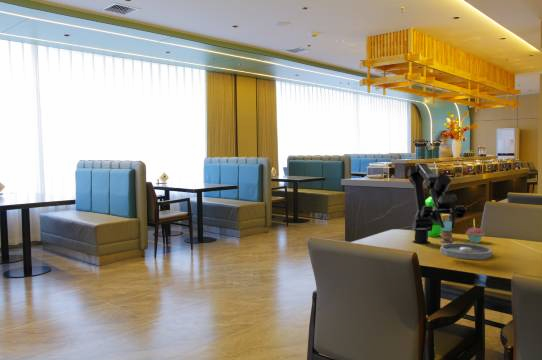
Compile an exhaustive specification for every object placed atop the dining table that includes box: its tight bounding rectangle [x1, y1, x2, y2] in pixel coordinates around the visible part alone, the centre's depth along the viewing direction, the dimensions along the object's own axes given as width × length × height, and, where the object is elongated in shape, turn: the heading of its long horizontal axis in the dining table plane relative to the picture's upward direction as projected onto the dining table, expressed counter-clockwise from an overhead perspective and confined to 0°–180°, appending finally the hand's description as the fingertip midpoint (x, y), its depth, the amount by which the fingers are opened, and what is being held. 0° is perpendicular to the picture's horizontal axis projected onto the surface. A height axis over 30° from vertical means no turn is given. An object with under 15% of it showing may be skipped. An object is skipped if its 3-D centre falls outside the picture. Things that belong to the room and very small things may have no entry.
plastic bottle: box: [425, 189, 443, 238], centre depth 245 cm, size 10×10×25 cm
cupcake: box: [465, 218, 485, 244], centre depth 230 cm, size 9×8×12 cm
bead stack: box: [439, 217, 454, 244], centre depth 196 cm, size 5×5×11 cm
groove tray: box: [439, 242, 493, 260], centre depth 204 cm, size 21×21×2 cm
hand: (448, 227), depth 194 cm, fingers closed on bead stack, 4 cm apart
